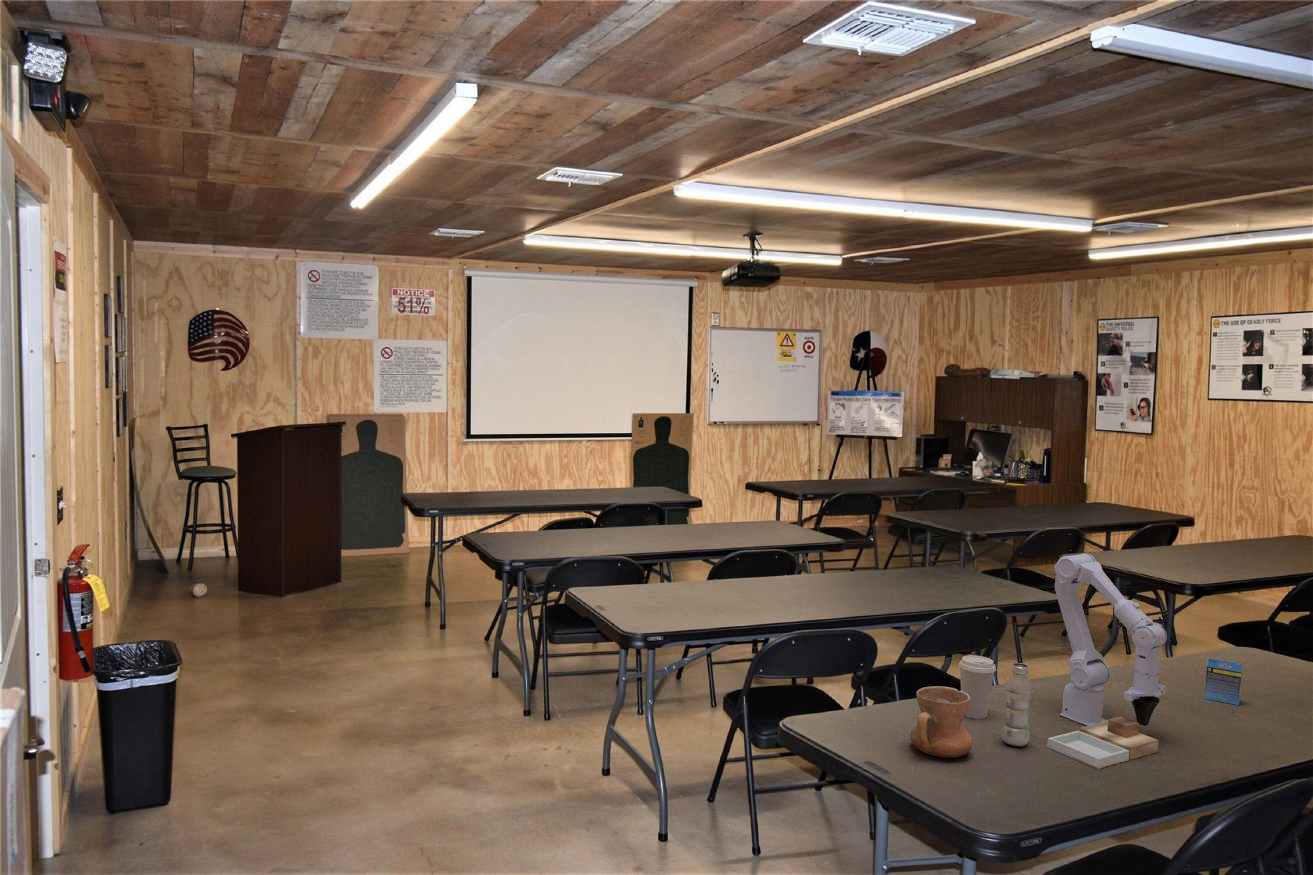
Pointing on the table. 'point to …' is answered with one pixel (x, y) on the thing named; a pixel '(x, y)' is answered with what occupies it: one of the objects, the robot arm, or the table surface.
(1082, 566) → the robot arm
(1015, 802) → the table surface
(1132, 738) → the tan wooden flat block
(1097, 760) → the box
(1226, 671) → the label tape box
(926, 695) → the ceramic jug
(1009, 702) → the plastic bottle
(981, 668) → the coffee cup
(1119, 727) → the brown block
